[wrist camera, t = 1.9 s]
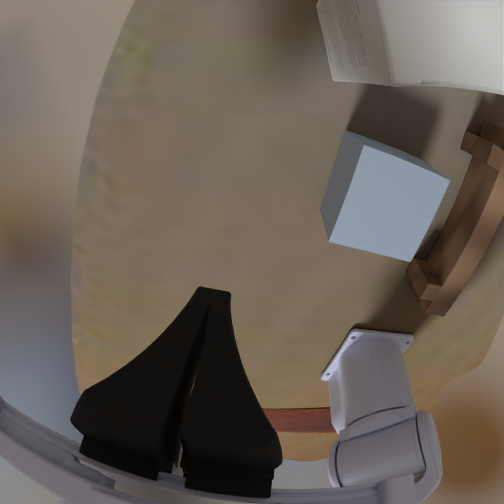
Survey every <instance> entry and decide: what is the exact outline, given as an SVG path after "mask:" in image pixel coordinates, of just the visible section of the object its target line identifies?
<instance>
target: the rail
mask: <svg viewBox="0 0 504 504" xmlns="http://www.w3.org/2000/svg"><path fill="white" fill-rule="evenodd" d="M460 149H462V150H464V151H466V152H468V153H469V154H471V155H473V158H472V160H471V163H470V166H469V169H468V171H467V174H466V177H465V179H464V182H463V184H462V187H461V189H460V192H459V194H458V197H457V199H456V201H455V204H454V206H453V208H452V210H451V213H450V215H449V217H448V219H447V221H446V223H445V226H444V228H443V230H442V232H441V234H440V236H439V238H438V240H437V242H436V244H435V246H434V248H433V250H432V251H431V253H430V255H429V257H428V259H427V261H426V260H422V259H418V258H413V260H412V262H411V263H410V265H409V267H408V269H407V271H406V272H407V274H408V276H409V278H410V280H411V282H412V284H413V285H412V289H413V291H414V293H415V295H416V297H417V299H418V301H419V304H420V306H421V308H422V310H423V312H424V314H430V315H438V316H445V314H446V313H447V312H448V310H449V309H450V307H451V306H452V304H453V303H454V302H455V300H456V299H457V297H458V296H459V294H460V293H461V291H462V290H463V288H464V287H465V285H466V284H467V282H468V280H469V279H470V277H471V276H472V274H473V272H474V271H475V269H476V267H477V266H478V264H479V262H480V260H481V259H482V257H483V255H484V253H485V252H486V250H487V248H488V246H489V244H490V242H491V240H492V238H493V237H494V235H495V233H496V231H497V229H498V227H499V225H500V222H501V220H502V218H503V216H504V130H503V129H501V128H498V127H496V126H493V125H491V124H488V123H486V122H483V126H482V129H481V133H480V136H476V135H474V134H472V133H470V132H467V131H466V133H465V136H464V139H463V142H462V145H461V148H460Z"/></svg>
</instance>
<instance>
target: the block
mask: <svg viewBox="0 0 504 504" xmlns="http://www.w3.org/2000/svg"><path fill="white" fill-rule="evenodd" d="M449 182H450V180H449V179H447V178H446V177H445V176H443V175H442V174H441V173H440V172H438V171H437V170H435V169H434V168H433V167H431V166H430V165H429V164H427V163H426V162H424V161H423V160H421V159H420V158H418V157H415V156H413V155H411V154H408V153H406V152H404V151H401V150H399V149H396V148H394V147H391V146H389V145H386V144H383V143H381V142H378V141H375V140H373V139H370V138H367V137H364V136H362V135H359V134H356V133H353V132H350V131H347V130H345V133H344V137H343V140H342V143H341V147H340V150H339V153H338V156H337V159H336V162H335V166H334V169H333V172H332V175H331V178H330V181H329V184H328V187H327V190H326V193H325V196H324V199H323V202H322V205H321V208H320V211H321V215H322V219H323V222H324V226H325V230H326V233H327V237H328V241H329V242H332V243H336V244H341V245H345V246H349V247H353V248H357V249H361V250H365V251H369V252H373V253H377V254H381V255H385V256H389V257H393V258H396V259H400V260H404V261H408V262H411V260H412V258H413V257H414V255H415V253H416V251H417V249H418V247H419V246H420V244H421V242H422V240H423V238H424V236H425V234H426V232H427V230H428V228H429V226H430V224H431V222H432V220H433V218H434V216H435V214H436V212H437V209H438V207H439V205H440V203H441V201H442V198H443V196H444V194H445V192H446V189H447V187H448V184H449Z"/></svg>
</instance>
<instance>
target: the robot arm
mask: <svg viewBox="0 0 504 504" xmlns="http://www.w3.org/2000/svg"><path fill="white" fill-rule="evenodd" d="M230 302H231V294H230V292H227V291H222V290H216V289H211V288H206V287H198V288H197V289H196V291H195V293H194V294H193V296H192V297H191V299H190V300H189V302H188V303H187V304H186V306H185V307H184V308H183V310H182V311H181V312H180V313H179V315H178V316H177V317H176V318H175V320H174V321H173V322H172V323H171V324H170V325H169V326H168V327H167V328H166V330H165V331H164V332H163V333H162V334H161V335H160V336H159V337H158V338H157V339H156V340H155V341H154V342H153V343H152V344H151V345H150V346H148V347H147V348H146V349H145V350H144V351H143V352H142V353H140V354H139V355H138V356H137V357H135V358H134V359H133V360H132V361H130V362H129V363H128V364H126V365H125V366H124V367H122V368H121V369H119V370H118V371H116V372H115V373H113V374H112V375H110V376H109V377H107V378H106V379H104V380H102V381H100V382H98V383H97V384H95V385H93V386H91V387H89V388H88V389H86V390H84V392H83V393H82V395H81V397H80V398H79V400H78V402H77V404H76V406H75V408H74V411H73V413H72V416H71V418H70V421H71V423H72V424H73V426H74V427H75V428H76V429H77V430H78V431H79V432H80V433H82V434H83V435H84V437H83V440H82V443H81V444H80V443H78V442H76V441H74V440H71V439H69V438H67V437H65V436H63V435H61V434H59V433H57V432H55V431H53V430H51V429H49V428H47V427H46V426H44V425H42V424H40V423H38V422H36V421H34V420H33V419H31V418H30V417H28V416H26V415H25V414H23V413H22V412H20V411H18V410H16V409H15V408H14V407H12V406H11V405H9V404H8V403H6V402H5V401H4V400H3V399H2V398H1V397H0V456H1V457H2V458H3V459H5V460H6V461H7V462H9V463H10V464H11V465H12V466H14V467H15V468H16V469H18V470H19V471H21V472H22V473H23V474H24V475H26V476H27V477H29V478H30V479H32V480H33V481H35V482H36V483H38V484H39V485H41V486H42V487H44V488H45V489H47V490H49V491H50V492H52V493H54V494H55V495H57V496H59V497H60V498H61V501H60V504H160V503H156V502H152V501H149V500H145V499H142V498H138V497H135V496H132V495H129V494H126V493H123V492H120V491H117V490H115V489H114V485H115V480H113V479H111V478H109V477H107V476H105V475H103V474H101V473H100V472H99V471H96V470H94V469H92V468H90V467H88V466H85V465H83V464H81V463H80V461H79V460H78V459H80V460H82V461H84V462H86V463H89V464H91V465H94V466H96V467H99V468H101V469H103V470H106V471H108V472H111V473H114V474H117V475H120V476H122V477H125V478H128V479H131V480H134V481H137V482H141V483H144V484H147V485H151V486H155V487H158V488H162V489H166V490H170V491H174V492H179V493H183V494H189V495H194V496H199V497H205V498H211V499H218V500H225V501H234V502H244V503H257V504H421V503H422V502H423V501H424V500H425V499H426V498H427V497H428V496H429V495H430V494H431V493H432V492H433V491H434V490H435V489H436V488H437V486H438V485H439V483H440V480H441V477H442V474H443V469H442V463H441V450H440V444H439V439H438V434H437V431H436V427H435V424H434V421H433V418H432V416H431V414H430V413H428V412H426V411H425V410H421V411H419V412H418V411H417V409H416V405H415V401H414V397H413V393H412V389H411V385H410V381H409V377H408V374H407V370H406V366H405V363H404V359H403V356H402V353H403V352H404V351H405V350H406V349H407V347H408V346H409V345H410V344H411V342H412V341H413V340H414V336H413V335H411V334H400V333H390V332H380V331H371V330H363V329H353V330H351V331H350V333H349V335H348V336H347V338H346V339H345V341H344V342H343V344H342V346H341V347H340V349H339V350H338V352H337V353H336V355H335V356H334V358H333V359H332V361H331V362H330V364H329V365H328V367H327V368H326V369H325V371H324V372H323V374H322V375H321V379H322V380H326V381H328V383H329V396H330V410H331V421H332V425H333V427H334V429H335V430H336V432H337V433H338V434H339V438H340V439H338V440H336V441H335V442H334V443H333V445H332V447H331V449H330V451H329V453H328V458H327V471H328V476H329V479H330V482H331V484H332V486H333V487H334V488H322V489H271V486H272V480H273V478H274V469H276V468H277V467H278V466H280V465H281V464H282V460H283V457H282V450H281V445H280V442H279V438H278V435H277V432H276V431H275V429H274V428H273V426H272V425H271V423H270V422H269V420H268V418H267V417H266V415H265V413H264V411H263V410H262V408H261V406H260V404H259V402H258V400H257V398H256V396H255V394H254V392H253V390H252V387H251V385H250V383H249V381H248V378H247V376H246V373H245V370H244V367H243V365H242V362H241V359H240V355H239V352H238V348H237V344H236V340H235V336H234V331H233V325H232V318H231V306H230ZM196 374H197V375H196ZM195 377H196V378H195ZM194 380H195V382H194ZM193 383H194V386H193ZM192 387H193V389H192ZM191 391H192V392H191ZM190 395H191V396H190ZM181 443H182V448H183V452H182V457H181V463H180V467H182V470H183V473H184V474H183V477H180V476H176V475H171V473H172V472H174V471H175V470H177V467H178V460H179V454H180V448H181ZM77 458H78V459H77ZM164 472H165V473H164ZM168 473H169V474H168ZM422 473H424V474H422ZM420 474H422V475H420ZM417 475H420V476H418V477H416V478H414V476H417Z"/></svg>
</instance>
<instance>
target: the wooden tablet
mask: <svg viewBox="0 0 504 504" xmlns="http://www.w3.org/2000/svg"><path fill="white" fill-rule="evenodd" d="M262 410H263V411H264V413H265V415H266V417H267V418H268V420H269V422H270V423H271V425H272V426H273V428H274V429H275V431H277V432H293V433H330V432H336V430H335V429H334V427H333V425H332V421H331V410H330V408H316V409H262Z"/></svg>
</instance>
